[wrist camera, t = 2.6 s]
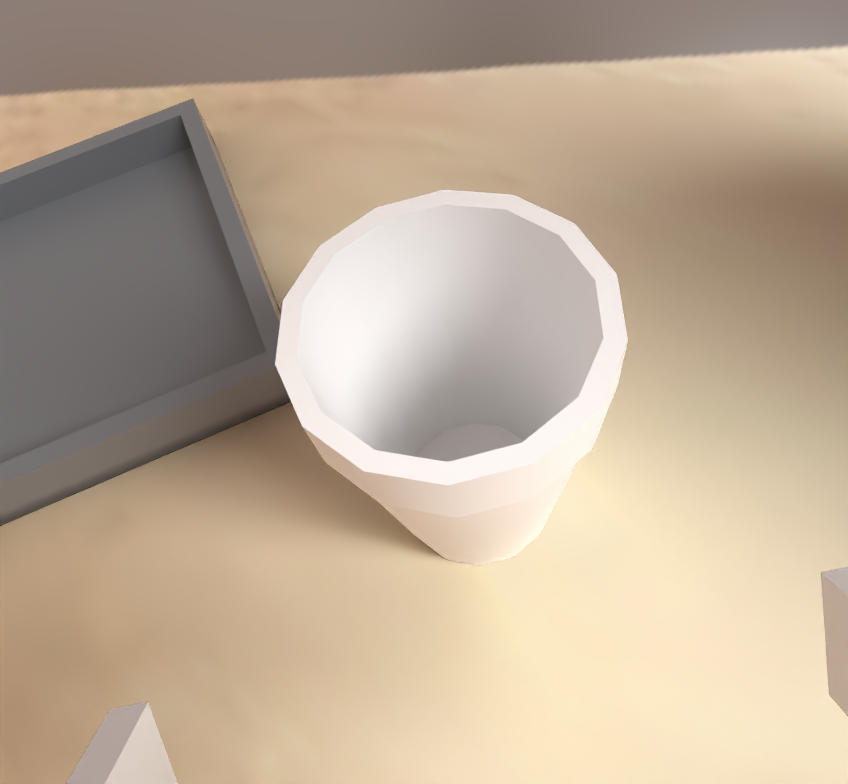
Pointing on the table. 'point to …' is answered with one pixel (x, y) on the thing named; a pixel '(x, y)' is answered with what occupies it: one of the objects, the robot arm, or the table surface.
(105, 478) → the tray
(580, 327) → the foam cup
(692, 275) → the table surface
